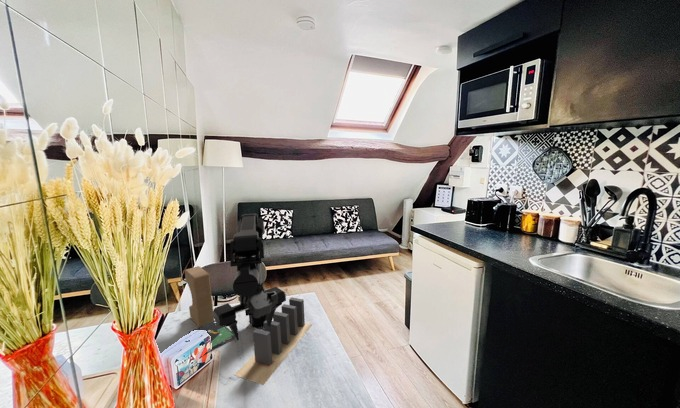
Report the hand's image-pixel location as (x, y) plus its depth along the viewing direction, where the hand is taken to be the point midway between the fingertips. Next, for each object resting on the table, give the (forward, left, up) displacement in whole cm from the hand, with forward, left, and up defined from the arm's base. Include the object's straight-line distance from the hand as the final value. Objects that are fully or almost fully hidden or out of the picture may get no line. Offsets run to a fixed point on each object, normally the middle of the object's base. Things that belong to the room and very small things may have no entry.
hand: (253, 332), depth 78 cm
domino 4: (0, +19, -12) cm, 22 cm away
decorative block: (-38, +16, -14) cm, 44 cm away
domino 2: (0, +9, -12) cm, 15 cm away
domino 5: (0, +14, -12) cm, 18 cm away
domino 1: (0, +4, -12) cm, 13 cm away
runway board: (0, +11, -13) cm, 18 cm away
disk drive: (-25, +8, -14) cm, 30 cm away
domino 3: (0, +24, -12) cm, 27 cm away
